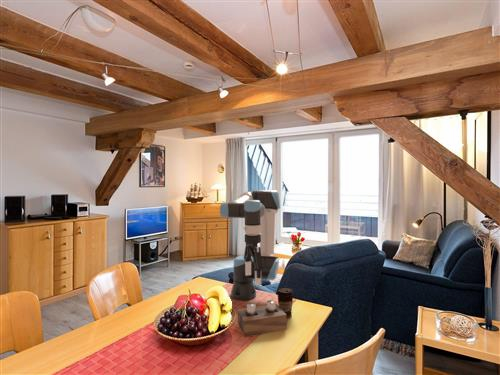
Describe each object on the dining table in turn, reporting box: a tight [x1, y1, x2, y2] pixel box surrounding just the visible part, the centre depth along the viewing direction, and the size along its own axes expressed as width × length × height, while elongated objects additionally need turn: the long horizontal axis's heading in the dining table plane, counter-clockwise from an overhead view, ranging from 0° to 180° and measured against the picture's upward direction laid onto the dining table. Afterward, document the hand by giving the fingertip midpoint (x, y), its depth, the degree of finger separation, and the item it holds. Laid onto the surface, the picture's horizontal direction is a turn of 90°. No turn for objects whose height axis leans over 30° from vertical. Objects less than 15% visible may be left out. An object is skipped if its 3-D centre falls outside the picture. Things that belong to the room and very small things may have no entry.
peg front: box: [246, 302, 257, 317], centre depth 128 cm, size 4×4×6 cm
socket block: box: [237, 303, 288, 338], centre depth 130 cm, size 12×20×7 cm, turn 107°
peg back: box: [266, 299, 277, 313], centre depth 131 cm, size 4×4×6 cm
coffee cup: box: [276, 287, 295, 319], centre depth 141 cm, size 9×8×13 cm
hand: (252, 279), depth 128 cm, fingers open, 13 cm apart
